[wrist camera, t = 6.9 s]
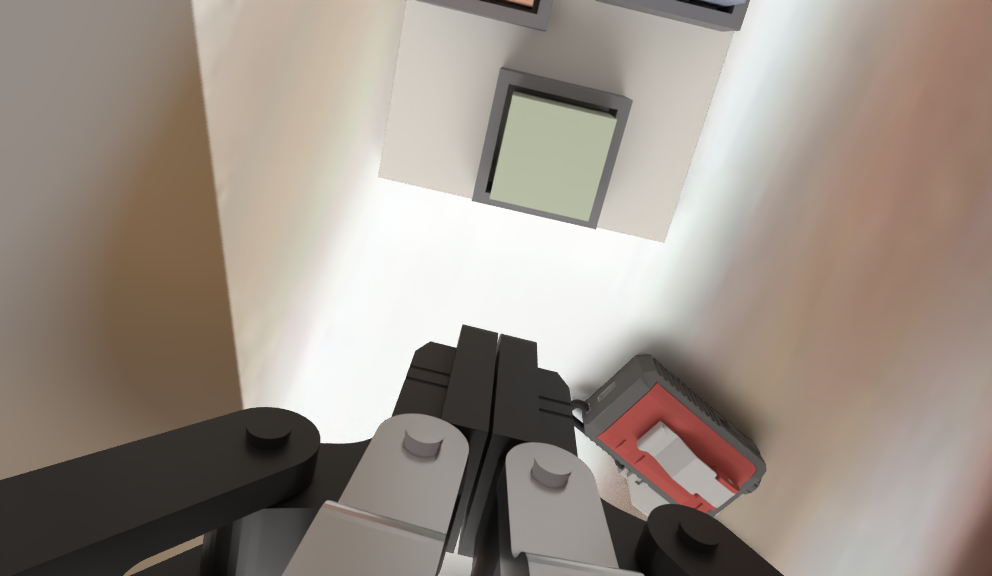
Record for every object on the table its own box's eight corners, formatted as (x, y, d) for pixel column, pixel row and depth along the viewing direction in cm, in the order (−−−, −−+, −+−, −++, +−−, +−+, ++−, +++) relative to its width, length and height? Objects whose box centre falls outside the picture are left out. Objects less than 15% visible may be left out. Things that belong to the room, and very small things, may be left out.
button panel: (771, -118, 33) (812, -145, 28) (657, 233, 40) (675, 258, 35) (445, -200, 32) (431, -241, 28) (385, 170, 39) (366, 188, 34)
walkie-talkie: (541, 418, 45) (736, 573, 49) (542, 456, 41) (755, 622, 45) (631, 333, 43) (829, 503, 47) (643, 364, 38) (859, 548, 43)
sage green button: (606, 111, 34) (617, 119, 30) (581, 203, 36) (588, 221, 32) (514, 89, 34) (512, 95, 30) (493, 182, 36) (489, 198, 32)
